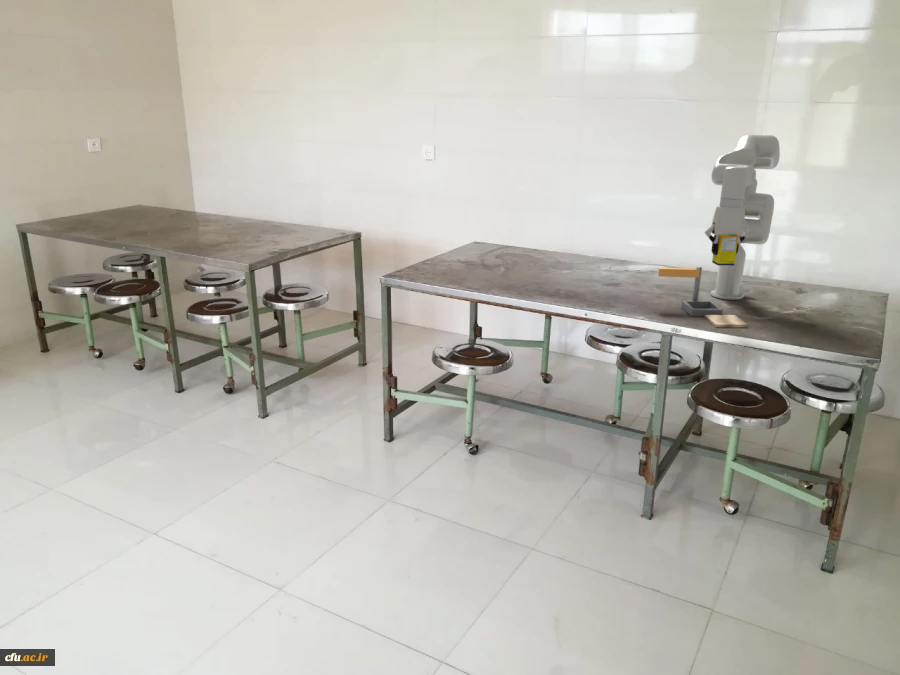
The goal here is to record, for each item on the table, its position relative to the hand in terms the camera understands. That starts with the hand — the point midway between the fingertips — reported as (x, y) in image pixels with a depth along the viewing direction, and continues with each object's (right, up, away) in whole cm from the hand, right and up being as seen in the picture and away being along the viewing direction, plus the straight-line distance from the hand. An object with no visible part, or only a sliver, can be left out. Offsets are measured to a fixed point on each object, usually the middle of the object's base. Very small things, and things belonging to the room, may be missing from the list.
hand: (724, 254), depth 240 cm
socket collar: (-2, -20, +16) cm, 25 cm away
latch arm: (-9, -17, +23) cm, 30 cm away
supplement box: (0, -4, +1) cm, 4 cm away
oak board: (+2, -24, +4) cm, 24 cm away
